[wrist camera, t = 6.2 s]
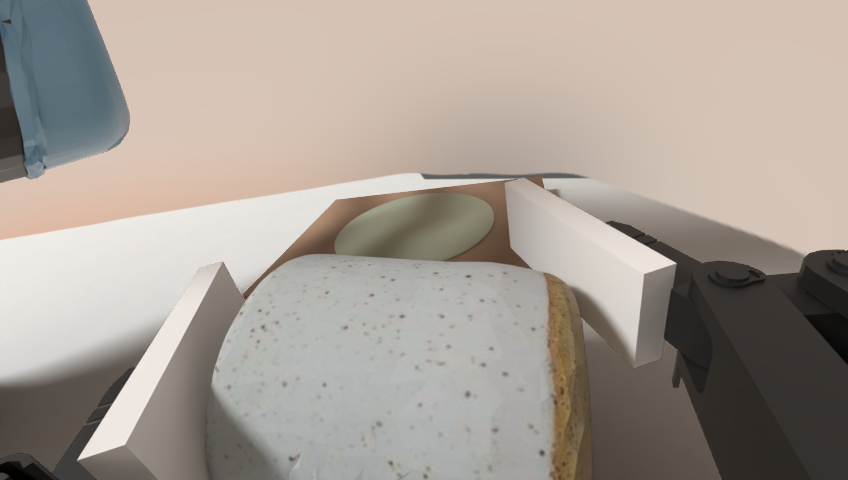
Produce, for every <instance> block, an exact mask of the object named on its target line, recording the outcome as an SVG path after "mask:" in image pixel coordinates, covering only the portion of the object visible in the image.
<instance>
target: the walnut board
mask: <svg viewBox="0 0 848 480" xmlns="http://www.w3.org/2000/svg"><path fill="white" fill-rule="evenodd" d="M525 179H527V180H529V181H531V182H533V183H534V184H536V185H538V186H540V187H541V188H543V189H544V185H543V181H542V177H541V176H539V177H530V178H525ZM513 180H517V179H513ZM513 180H504V181H496V182H487V183H478V184H470V185H461V186H452V187H443V188H435V189H426V190H417V191H409V192H400V193H391V194H383V195H374V196H365V197H357V198H348V199H339V200H335V201H334V202H333V203H332V205H331V206H330V207H329V208H328V209H327V210H326V211H325V212H324V213H323V214H322V215H321V216H320V217H319V218H318V219H317V220H316V221H315V222H314V223H313V224H312V225H311V226H310V227H309V228H308V229H307V230H306V231H305V232H304V233H303V234H302V235H301V236H300V237H299V238H298V239H297V240H296V241H295V242H294V243H293V244H292V245H291V246H290V247H289V248H288V249H287V250H286V251H285V252H284V253H283V254H282V255H281V256H280V257H279V258H278V259H277V260H276V261H275V263H274V264H273V265H272V266H271V267H270V268H269V269H268V270H267V271H266V272H265V273H264V274H263V275H262V276H261V277H260V278H259V279H258V280H257V281H256V282H255V283H254V284H253V285H252V286H251V287H250V288H249V289H248V290H247V291H246V292H245V293H244V294H243V297H244V299H245V300H247V298H248V297H249V296H250V294H251V293H252V292H253V291H254V290H255V288H256V287H257V286H258V285H259V283H260V282H261V281H262V280H263V279H264V278H265V277H266V276H268V275H269V274H270V273H271V272H273V271H274V270H276V269H277V268H278V267H279V266H281V265H282V264H284V263H285V262H287V261H290V260H292V259H295V258H298V257H301V256H305V255H311V254H336V255H351V256H365V257H380V258H395V259H410V260H426V261H445V262H493V263H500V264H507V265H514V266H518V267H523V268H528V269H532V268H531V267H530V266H529V265H528V264H527V263H526V262H525V261H524V260H523V259H522V258H521V257H520V256H519V255H518V254H517V253H516V252H515V251H514V250H513V249H512V248H511V246H510V236H509V225H508V214H507V204H506V193H505V183H506V182H510V181H513Z"/></svg>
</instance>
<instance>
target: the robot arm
mask: <svg viewBox="0 0 848 480" xmlns="http://www.w3.org/2000/svg"><path fill="white" fill-rule="evenodd" d="M129 124H130V114H129V110H128V107H127V104H126V100H125V97H124V94H123V91H122V89H121V86H120V83H119V80H118V78H117V75H116V72H115V70H114V67H113V64H112V62H111V59H110V57H109V54H108V51H107V49H106V46H105V44H104V41H103V39H102V36H101V34H100V31H99V29H98V26H97V24H96V21H95V19H94V16H93V14H92V11H91V9H90V6H89V4H88V1H87V0H0V183H2V182H5V181H9V180H13V179H18V178H21V177H25V176H26V177H27V178H29V179H34V178H38V177H39V176H41V175H43V174H44V173H45V171H46V170H47V169H50V168H53V167H57V166H60V165H64V164H67V163H70V162H74V161H77V160H80V159H83V158H87V157H90V156H94V155H97V154H100V153H104V152H106V151H109V150H111V149H112V148H114V147H116V146H117V145H119V144H120V143H121V141H122V140H123V138H124V137H125V136H126V134H127V133H128V130H129ZM505 193H506V204H507V214H508V225H509V236H510V246H511V248H512V249H513V250H514V251H515V252H516V253H517V254H518V255H519V256H520V257H521V258H522V259H523V260H524V261H525V262H526V263H527V264H528V265H529V266H530V267H531V268H532V269H533V270H537V271H542V272H546V273H549V274H552V275H555V276H556V277H558V278H559V279H561V280H563V281H564V282H565V283H566V284H567V286H568V287H569V288H570V290H571V291H572V292H573V293H574V295H575V298H576V301H577V304H578V307H579V312H580V316H581V317H582V318H583V319H584V320H585V321H586V322H587V323H588V324H589V325H590V326H591V327H592V328H593V329H594V330H595V331H596V332H597V333H598V334H599V335H600V336H601V337H602V338H603V339H604V340H605V341H606V342H607V343H608V344H609V345H610V346H611V347H612V348H613V349H614V350H615V351H616V352H617V353H618V354H619V355H620V356H621V357H622V358H623V359H625V360H626V361H627V362H628V363H629V364H630V365H631V366H632V367H633V368H637V367H640V366H643V365H645V364H648V363H651V362H654V361H656V360H659V359H662V354H663V347H664V341H665V340H666V341H668V342H669V343H670V344H671V345H673V346H674V347H675V348H676V349H677V350H678V351H677V357H676V362H675V368H674V373H673V379H672V382H673V387H674V388H679V383H680V378H681V377H682V379H683V381H684V384H685V386H686V389H687V391H688V394H689V396H690V399H691V401H692V404H693V407H694V409H695V412H696V414H697V417H698V419H699V422H700V424H701V427H702V430H703V432H704V435H705V437H706V440H707V442H708V445H709V447H710V450H711V452H712V455H713V458H714V460H715V463H716V465H717V468H718V470H719V473H720V475H721V478H722V480H848V250H847V251H845V250H821V251H816V252H812V253H809V254H808V255H807V256H806V257H805V258H804V260H803V263H802V266H801V269H800V272H799V273H790V274H778V275H766V274H764V273H763V272H762V271H760V270H757V269H755V268H753V267H750V266H748V265H744V264H739V263H735V262H726V261H713V262H705V263H703V264H702V263H701V262H699V261H697V260H695V259H693V258H691V257H689V256H687V255H685V254H683V253H681V252H679V251H678V250H676V249H674V248H672V247H670V246H668V245H666V244H664V243H662V242H660V241H659V242H657V239H655V238H653V237H651V236H649V235H645V233H643V232H641V231H639V230H637V229H635V228H634V227H632V226H630V225H626V224H622V223H618V222H614V221H609V222H606V223H604V222H602V221H600V220H599V219H597V218H595V217H593V216H591V215H590V214H588V213H586V212H584V211H583V210H581V209H579V208H577V207H575V206H574V205H572V204H570V203H568V202H566V201H565V200H563V199H561V198H559V197H558V196H556V195H554V194H552V193H550V192H549V191H547V190H545V189H543V188H541V187H540V186H538V185H536V184H534V183H533V182H531V181H529V180H527V179H525V178H521V179H517V180H513V181H510V182H506V183H505ZM243 304H244V300H243V298H242V296H241V294H240V292H239V290H238V289H237V287H236V285H235V283H234V281H233V279H232V277H231V275H230V274H229V272H228V270H227V268H226V266H225V264H224V262H223V261H222V262H219V263H215V264H212V265H208V266H205V267H201V268H199V269H198V271H197V272H196V274H195V275H194V277H193V278H192V280H191V282H190V283H189V285H188V286H187V288H186V289H185V291H184V293H183V294H182V296H181V297H180V299H179V300H178V302H177V304H176V305H175V307H174V308H173V310H172V311H171V313H170V315H169V316H168V318H167V319H166V321H165V322H164V324H163V326H162V327H161V329H160V330H159V332H158V333H157V335H156V337H155V338H154V340H153V341H152V343H151V344H150V346H149V348H148V349H147V351H146V352H145V354H144V356H143V357H142V359H141V360H140V362H139V363H138V365H137V367H134V368H131V369H129V370H128V371H127V372H126V373H125V374H124V375H122V376H121V377H120V378H119V379H118V380H117V381H116V382H115V383H114V384H113V385H112V386H111V387H110V388H109V390H108V391H107V393H106V394H105V396H104V397H103V399H102V400H101V401H100V403H99V404H98V406H97V407H98V409H96V410H94V412H93V413H92V415H91V416H90V418H89V419H88V421H87V425H86V426H84V427H83V428H82V430H81V431H80V432H79V434H78V435H77V437H76V438H75V440H74V441H73V443H72V444H71V446H70V447H69V449H68V450H67V452H66V453H65V455H64V456H63V458H62V459H61V461H60V462H59V464H58V465H57V466H56V468H55V469H54V471H53V472H52V473H51V472H50V471H49V470H48V469H46V468H45V467H44V466H43V465H42V464H40V463H39V462H38V461H37V460H36V459H35V458H33V457H32V456H31V455H29V454H23V453H19V454H15V455H11V456H8V457H4V458H2V459H0V480H212V477H211V475H210V471H209V467H208V462H207V456H206V446H205V423H206V412H207V404H208V397H209V392H210V387H211V382H212V378H213V373H214V368H215V365H216V362H217V359H218V356H219V353H220V350H221V347H222V345H223V342H224V339H225V337H226V335H227V333H228V331H229V329H230V327H231V325H232V323H233V321H234V319H235V318H236V316H237V314H238V313H239V311H240V309H241V308H242V306H243Z"/></svg>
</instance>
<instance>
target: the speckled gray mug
mask: <svg viewBox="0 0 848 480" xmlns="http://www.w3.org/2000/svg"><path fill="white" fill-rule="evenodd" d="M205 446H206V456H207V462H208V467H209V471H210V475H211V477H212V480H592V442H591V418H590V395H589V383H588V371H587V361H586V353H585V345H584V337H583V324H582V320H581V316H580V312H579V307H578V304H577V301H576V298H575V295H574V293H573V292H572V291H571V290H570V288H569V287H568V286H567V284H566V283H565V282H564V281H563V280H561V279H559V278H558V277H556V276H555V275H552V274H549V273H546V272H542V271H537V270H533V269H528V268H523V267H518V266H514V265H507V264H500V263H493V262H445V261H426V260H410V259H395V258H380V257H365V256H351V255H336V254H311V255H305V256H301V257H298V258H295V259H292V260H290V261H287V262H285V263H284V264H282V265H281V266H279V267H278V268H277V269H276V270H274V271H273V272H271V273H270V274H269V275H268V276H266V277H265V278H264V279H263V280H262V281H261V282H260V283H259V285H258V286H257V287H256V288H255V290H254V291H253V292H252V293H251V294H250V296H249V297H248V298H247V300H246V301H245V302H244V304H243V306H242V308H241V309H240V311H239V313H238V314H237V316H236V318H235V319H234V321H233V323H232V325H231V327H230V329H229V331H228V333H227V335H226V337H225V339H224V342H223V345H222V347H221V350H220V353H219V356H218V359H217V362H216V365H215V368H214V373H213V378H212V382H211V387H210V392H209V397H208V404H207V412H206V423H205Z"/></svg>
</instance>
